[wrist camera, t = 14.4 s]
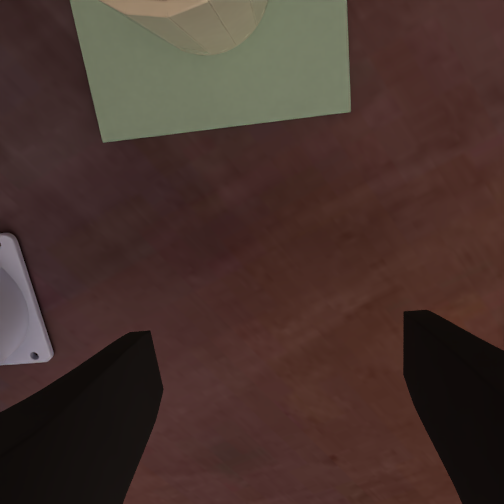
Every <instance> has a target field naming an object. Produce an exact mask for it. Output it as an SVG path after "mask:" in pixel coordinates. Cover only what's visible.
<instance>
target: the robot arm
mask: <svg viewBox="0 0 504 504" xmlns="http://www.w3.org/2000/svg"><path fill="white" fill-rule="evenodd" d="M0 243H1V246H0V365H11V364H25V363H39V362H47V361H49V360H50V359H51V358H52V357H53V355H54V353H53V349H52V346H51V343H50V340H49V337H48V333H47V330H46V327H45V324H44V321H43V318H42V315H41V312H40V309H39V305H38V302H37V299H36V296H35V293H34V290H33V287H32V284H31V281H30V278H29V274H28V271H27V268H26V265H25V262H24V259H23V256H22V253H21V250H20V246H19V243H18V240H17V239H16V237H15V236H14V235H13V234H11V233H0ZM34 352H35V353H37V354H38V356H37V355H35V353H34ZM403 375H404V378H405V381H406V384H407V387H408V390H409V393H410V395H411V398H412V401H413V404H414V406H415V409H416V411H417V413H418V415H419V417H420V419H421V421H422V423H423V425H424V427H425V429H426V431H427V433H428V435H429V437H430V439H431V441H432V443H433V445H434V447H435V449H436V451H437V452H438V454H439V456H440V458H441V460H442V462H443V464H444V466H445V468H446V470H447V472H448V474H449V476H450V478H451V480H452V482H453V484H454V486H455V488H456V491H457V493H458V495H459V497H460V499H461V502H462V504H504V351H503V350H501V349H499V348H497V347H495V346H493V345H491V344H489V343H488V342H486V341H484V340H482V339H480V338H478V337H476V336H475V335H473V334H471V333H469V332H467V331H465V330H464V329H462V328H460V327H458V326H457V325H455V324H453V323H451V322H449V321H448V320H446V319H444V318H442V317H440V316H438V315H437V314H435V313H433V312H431V311H428V310H418V311H404V368H403ZM162 393H163V385H162V380H161V376H160V372H159V367H158V363H157V358H156V354H155V350H154V345H153V341H152V337H151V332H150V331H139V332H130V333H128V334H126V335H124V336H122V337H121V338H119V339H117V340H116V341H114V342H113V343H111V344H110V345H108V346H107V347H106V348H104V349H103V350H101V351H100V352H98V353H97V354H95V355H94V356H92V357H91V358H89V359H88V360H87V361H85V362H84V363H82V364H81V365H79V366H78V367H76V368H75V369H73V370H72V371H70V372H69V373H67V374H65V375H64V376H62V377H61V378H59V379H58V380H56V381H54V382H53V383H51V384H50V385H48V386H47V387H45V388H44V389H42V390H40V391H38V392H37V393H35V394H33V395H32V396H30V397H28V398H26V399H25V400H23V401H21V402H19V403H17V404H15V405H13V406H12V407H10V408H8V409H6V410H4V411H2V412H0V504H123V501H124V499H125V496H126V493H127V491H128V488H129V486H130V483H131V481H132V479H133V476H134V474H135V471H136V469H137V466H138V464H139V461H140V459H141V456H142V454H143V452H144V449H145V447H146V444H147V442H148V439H149V437H150V434H151V432H152V429H153V426H154V424H155V421H156V418H157V414H158V410H159V406H160V402H161V398H162Z"/></svg>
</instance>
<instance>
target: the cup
mask: <svg viewBox="0 0 504 504" xmlns="http://www.w3.org/2000/svg"><path fill="white" fill-rule="evenodd" d="M98 1H100V2H101V3H103V4H104V5H106V6H108V7H109V8H111V9H113V10H114V11H116V12H117V13H119V14H121V15H122V16H124V17H126V18H127V19H129V20H130V21H132V22H134V23H135V24H137V25H139V26H140V27H142V28H144V29H145V30H147V31H148V32H150V33H152V34H153V35H155V36H157V37H158V38H160V39H161V40H163V41H165V42H167V43H169V44H170V45H172V46H174V47H176V48H177V49H180V50H181V51H183V52H186V53H190V54H195V55H216V54H220V53H224V52H227V51H229V50H231V49H233V48H235V47H236V46H238V45H240V44H241V43H242V42H243V41H245V40H246V39H247V38H248V37H249V36H250V35H251V34H252V32H253V31H254V30H255V29H256V27H257V26H258V24H259V23H260V21H261V19H262V17H263V15H264V13H265V10H266V7H267V5H268V1H269V0H98Z"/></svg>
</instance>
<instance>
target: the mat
mask: <svg viewBox="0 0 504 504" xmlns="http://www.w3.org/2000/svg"><path fill="white" fill-rule="evenodd" d="M70 3H71V8H72V12H73V16H74V21H75V25H76V29H77V34H78V38H79V42H80V47H81V51H82V55H83V60H84V64H85V68H86V73H87V77H88V81H89V86H90V90H91V94H92V99H93V103H94V107H95V112H96V116H97V120H98V125H99V129H100V133H101V137H102V142H112V141H120V140H128V139H136V138H144V137H153V136H161V135H169V134H177V133H185V132H193V131H201V130H209V129H217V128H225V127H233V126H241V125H250V124H258V123H266V122H274V121H282V120H290V119H298V118H306V117H314V116H322V115H330V114H339V113H347V112H351V99H350V72H349V45H348V19H347V0H269V1H268V5H267V7H266V10H265V13H264V15H263V17H262V19H261V21H260V23H259V24H258V26H257V27H256V29H255V30H254V31H253V32H252V34H251V35H250V36H249V37H248V38H247V39H246V40H245V41H243V42H242V43H241V44H240V45H238V46H236V47H235V48H233V49H231V50H229V51H227V52H224V53H220V54H216V55H195V54H190V53H186V52H183V51H181V50H180V49H177V48H176V47H174V46H172V45H170V44H169V43H167V42H165V41H163V40H161V39H160V38H158V37H157V36H155V35H153V34H152V33H150V32H148V31H147V30H145V29H144V28H142V27H140V26H139V25H137V24H135V23H134V22H132V21H130V20H129V19H127V18H126V17H124V16H122V15H121V14H119V13H117V12H116V11H114V10H113V9H111V8H109V7H108V6H106V5H104V4H103V3H101V2H100V1H98V0H70Z"/></svg>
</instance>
